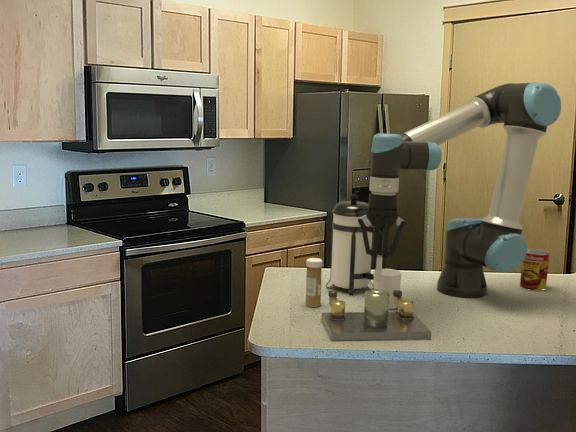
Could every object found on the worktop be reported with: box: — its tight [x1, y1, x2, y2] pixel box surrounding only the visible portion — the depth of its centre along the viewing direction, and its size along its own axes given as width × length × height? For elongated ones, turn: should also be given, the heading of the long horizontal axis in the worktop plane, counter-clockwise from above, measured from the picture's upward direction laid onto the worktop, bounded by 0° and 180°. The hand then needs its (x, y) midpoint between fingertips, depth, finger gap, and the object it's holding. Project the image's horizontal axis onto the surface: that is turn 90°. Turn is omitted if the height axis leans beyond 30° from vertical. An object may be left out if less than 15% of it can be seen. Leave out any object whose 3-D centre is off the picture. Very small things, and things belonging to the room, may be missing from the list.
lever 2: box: [393, 289, 414, 319], centre depth 170 cm, size 4×11×4 cm, turn 6°
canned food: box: [519, 248, 550, 291], centre depth 203 cm, size 8×8×12 cm
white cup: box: [372, 268, 402, 310], centre depth 181 cm, size 8×8×10 cm
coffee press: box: [325, 193, 383, 296], centre depth 195 cm, size 17×16×30 cm
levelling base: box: [321, 288, 432, 342], centre depth 162 cm, size 25×15×11 cm, turn 96°
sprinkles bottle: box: [305, 257, 323, 308], centre depth 180 cm, size 5×5×14 cm
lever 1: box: [327, 290, 346, 319], centre depth 168 cm, size 4×11×4 cm, turn 6°
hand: (377, 280), depth 170 cm, fingers closed
